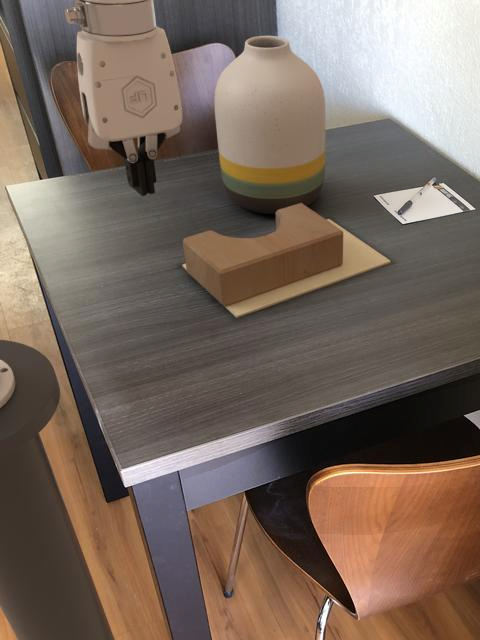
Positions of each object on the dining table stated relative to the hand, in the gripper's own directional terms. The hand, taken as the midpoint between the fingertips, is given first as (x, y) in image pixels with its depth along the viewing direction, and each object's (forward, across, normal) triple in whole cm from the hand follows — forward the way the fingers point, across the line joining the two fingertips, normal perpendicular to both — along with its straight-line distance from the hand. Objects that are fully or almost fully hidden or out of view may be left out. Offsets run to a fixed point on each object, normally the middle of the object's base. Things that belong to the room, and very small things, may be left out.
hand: (143, 190), depth 87 cm
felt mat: (+16, +20, 0) cm, 26 cm away
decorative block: (+13, +6, 0) cm, 14 cm away
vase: (+15, +30, +19) cm, 39 cm away
